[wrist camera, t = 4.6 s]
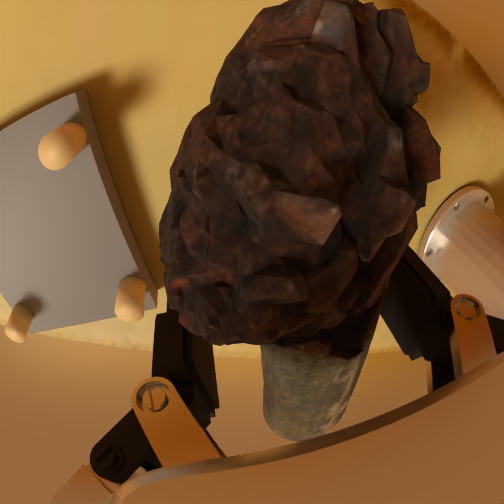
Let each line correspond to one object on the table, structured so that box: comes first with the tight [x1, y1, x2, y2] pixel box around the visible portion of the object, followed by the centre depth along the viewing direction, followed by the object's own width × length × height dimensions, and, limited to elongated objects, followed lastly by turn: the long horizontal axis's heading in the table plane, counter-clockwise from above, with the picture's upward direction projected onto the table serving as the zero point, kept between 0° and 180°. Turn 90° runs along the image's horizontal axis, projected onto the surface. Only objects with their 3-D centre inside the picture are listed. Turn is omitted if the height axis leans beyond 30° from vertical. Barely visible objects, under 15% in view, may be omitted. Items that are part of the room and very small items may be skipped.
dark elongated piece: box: [159, 0, 441, 442], centre depth 9 cm, size 18×7×6 cm, turn 5°
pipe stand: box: [0, 89, 158, 343], centre depth 16 cm, size 13×16×4 cm
